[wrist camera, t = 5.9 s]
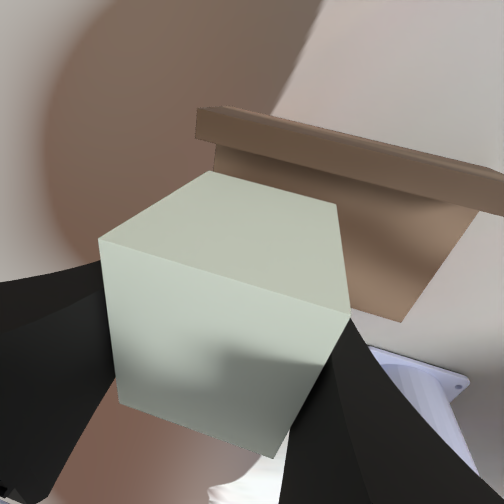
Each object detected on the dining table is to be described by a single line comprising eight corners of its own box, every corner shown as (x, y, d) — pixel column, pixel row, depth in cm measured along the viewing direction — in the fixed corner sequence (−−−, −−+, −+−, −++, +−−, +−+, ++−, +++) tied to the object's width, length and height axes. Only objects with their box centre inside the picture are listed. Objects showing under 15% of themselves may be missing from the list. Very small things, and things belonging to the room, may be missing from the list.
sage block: (292, 318, 13) (272, 458, 8) (196, 288, 13) (118, 403, 8) (336, 204, 10) (351, 315, 5) (208, 170, 10) (97, 238, 5)
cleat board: (395, 307, 19) (414, 360, 15) (210, 252, 20) (184, 288, 16) (487, 167, 14) (551, 194, 10) (229, 105, 15) (197, 108, 11)
